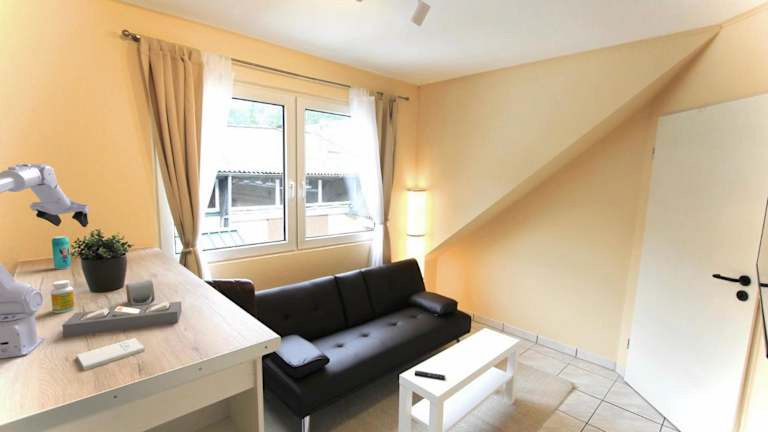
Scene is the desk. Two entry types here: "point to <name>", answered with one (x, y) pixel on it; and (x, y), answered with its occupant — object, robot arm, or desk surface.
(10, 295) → the robot arm
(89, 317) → the rocker
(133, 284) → the ceramic mug
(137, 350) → the external hard drive
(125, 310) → the rocker
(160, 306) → the rocker
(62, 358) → the desk surface
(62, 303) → the supplement bottle
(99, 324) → the rocker switch panel
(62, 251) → the beverage can
